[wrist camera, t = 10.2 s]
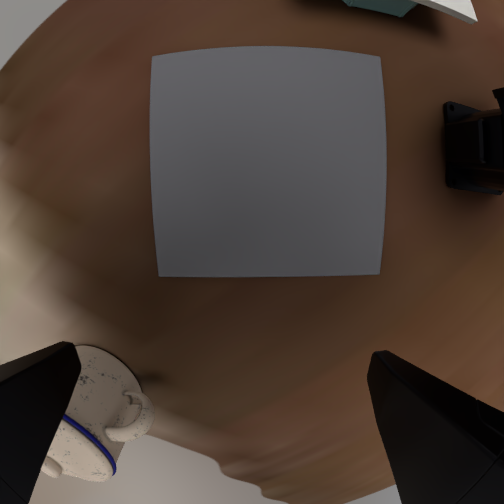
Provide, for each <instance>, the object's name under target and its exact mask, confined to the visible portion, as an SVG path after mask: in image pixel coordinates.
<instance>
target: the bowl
mask: <svg viewBox="0 0 504 504" xmlns="http://www.w3.org/2000/svg"><path fill="white" fill-rule="evenodd" d="M343 1H344V2H345V3H346V4H347V5H348V6H350V7H351V6H354V7H359V8H365V9H370V10H374V11H379V12H383V13H387V14H391V15H395V16H398V17H399V18H400V17H403V16H404V15H405V14H406V13H407V12H408V11H409V10H411V9H412V8H414V7H415V6H416V5H418V4H419V3H417V2H414V1H411V0H343Z"/></svg>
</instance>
